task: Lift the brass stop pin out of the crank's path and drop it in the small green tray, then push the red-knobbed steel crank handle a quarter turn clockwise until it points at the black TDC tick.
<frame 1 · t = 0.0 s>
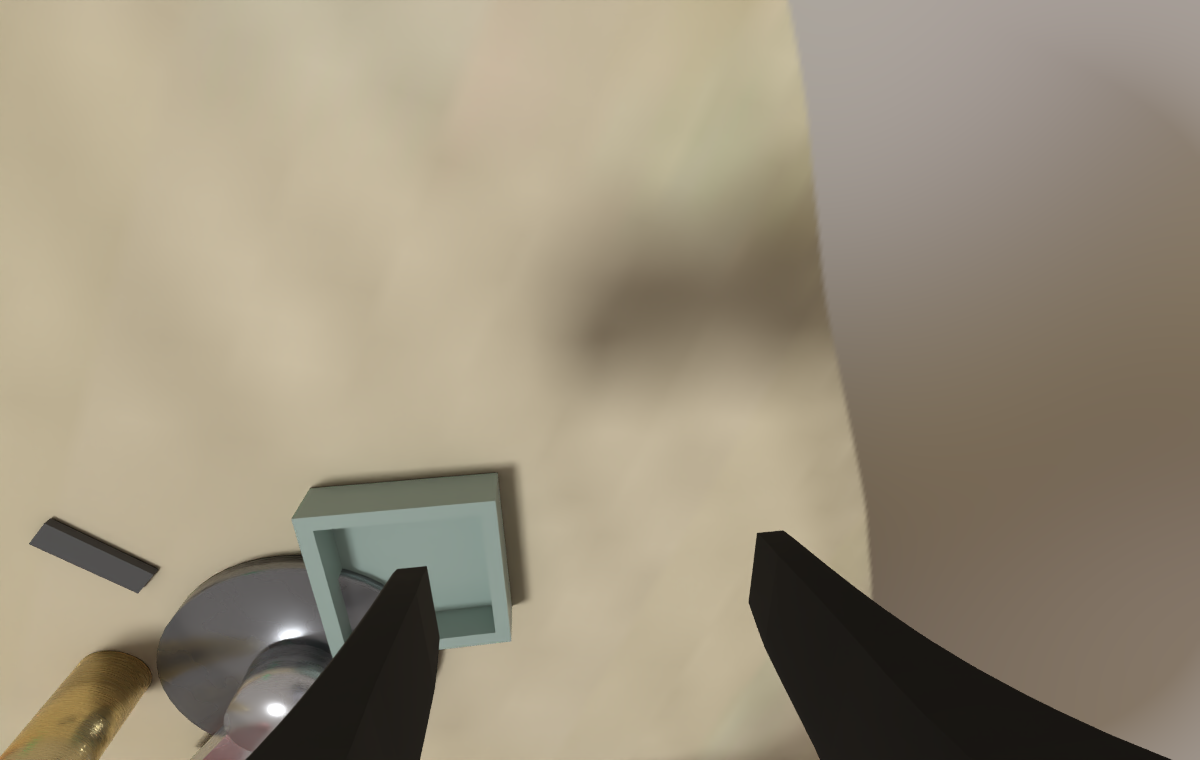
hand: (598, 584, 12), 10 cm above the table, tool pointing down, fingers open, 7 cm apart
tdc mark: (98, 554, 22), on the table
tray: (418, 552, 23), on the table
dark gray disc: (309, 652, 25), on the table
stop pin: (115, 674, 24), on the table
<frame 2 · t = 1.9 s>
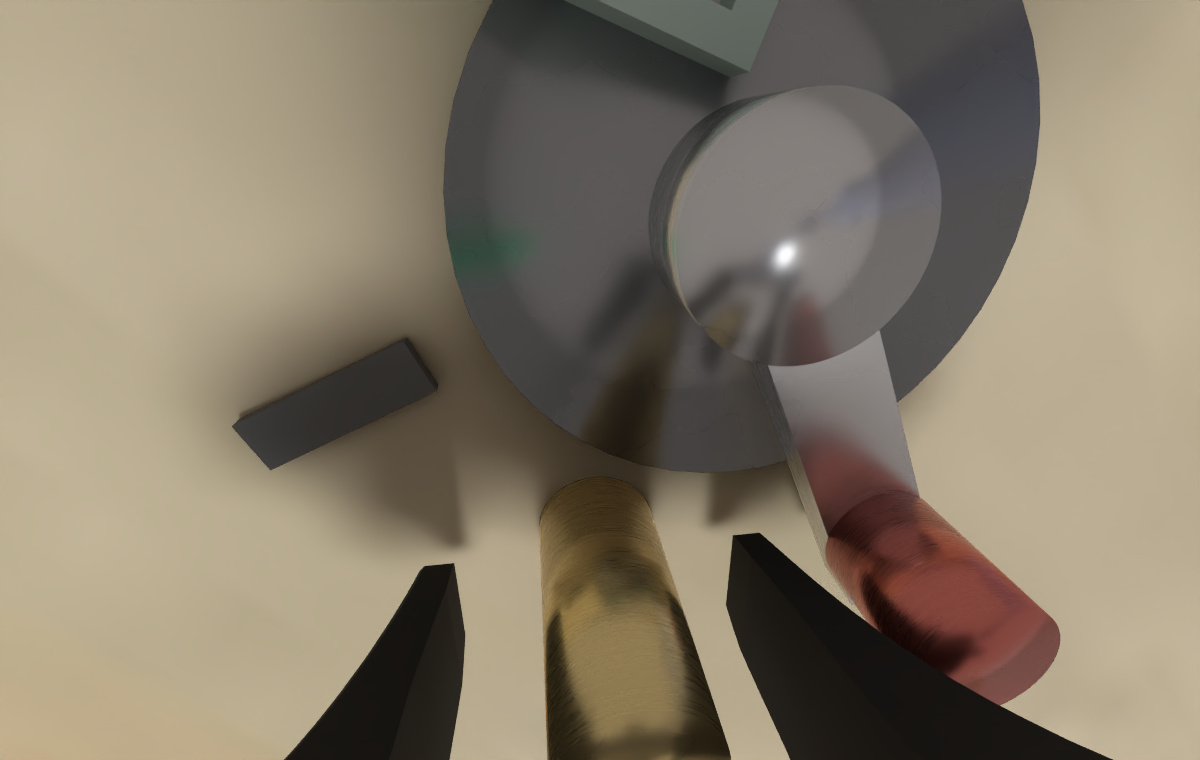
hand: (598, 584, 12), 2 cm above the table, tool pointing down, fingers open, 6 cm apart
crank: (864, 418, 9), point 3 cm above the table, hinge at 0.0°, touching gripper
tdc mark: (339, 402, 12), on the table
dark gray disc: (733, 211, 11), on the table
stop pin: (595, 524, 14), on the table
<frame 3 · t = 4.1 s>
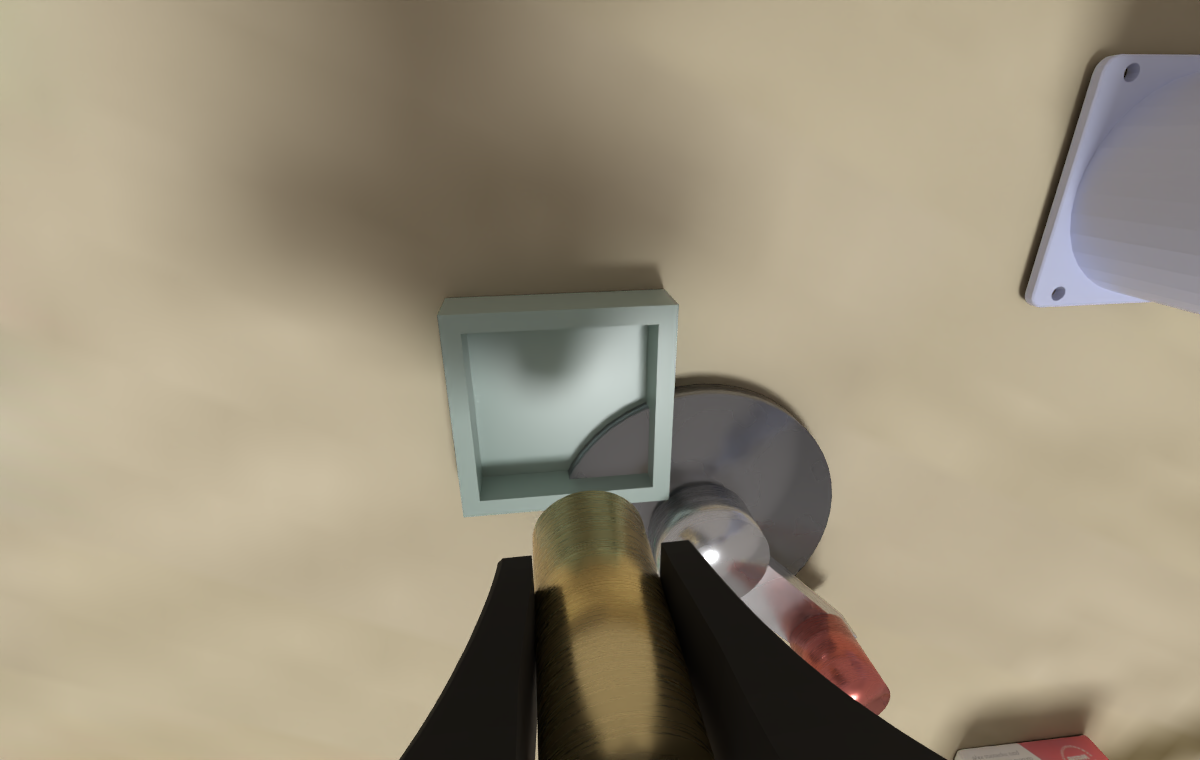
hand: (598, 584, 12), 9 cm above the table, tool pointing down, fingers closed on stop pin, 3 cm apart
crank: (771, 610, 21), point 3 cm above the table, hinge at 0.1°
tray: (561, 392, 20), on the table
dark gray disc: (689, 507, 23), on the table
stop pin: (588, 536, 14), point 7 cm above the table, touching gripper
when the fingers open (3 cm above the table, at t = 5.5 s): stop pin stays where it is, resting on tray.
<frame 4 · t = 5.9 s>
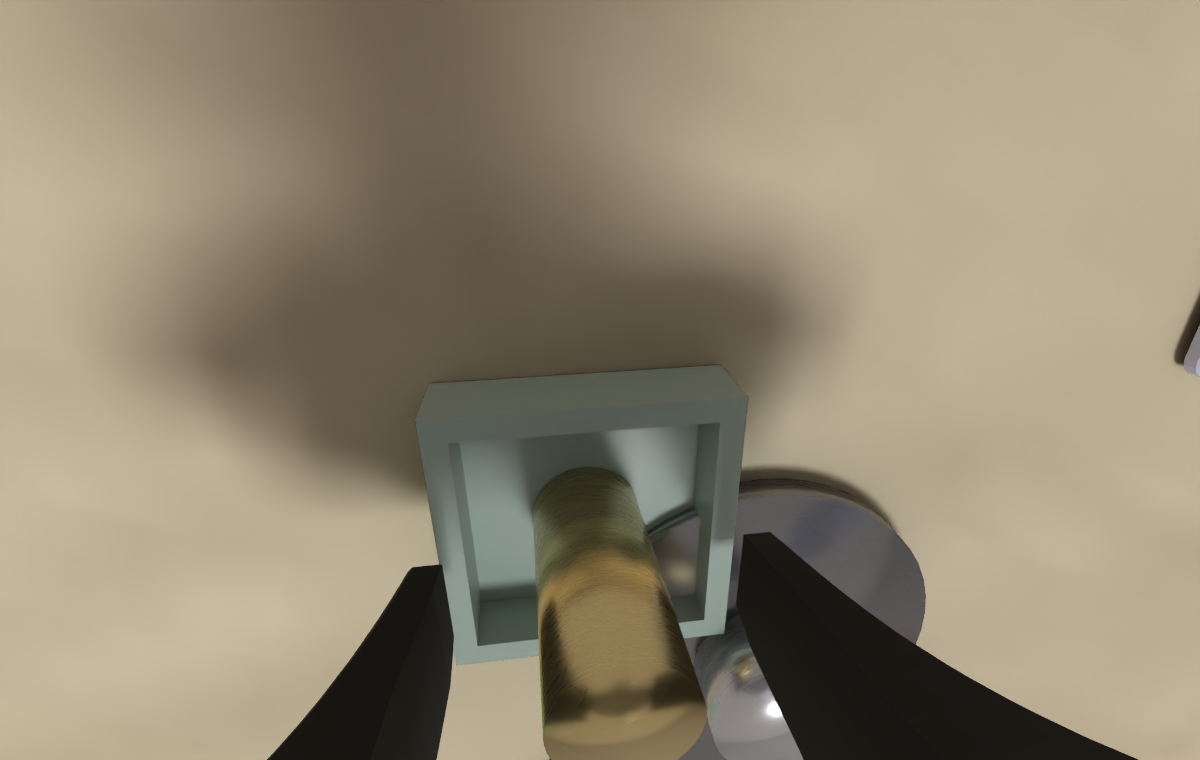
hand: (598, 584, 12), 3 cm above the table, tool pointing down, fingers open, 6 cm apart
tray: (583, 495, 15), on the table
dark gray disc: (742, 623, 18), on the table
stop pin: (585, 511, 15), resting on tray
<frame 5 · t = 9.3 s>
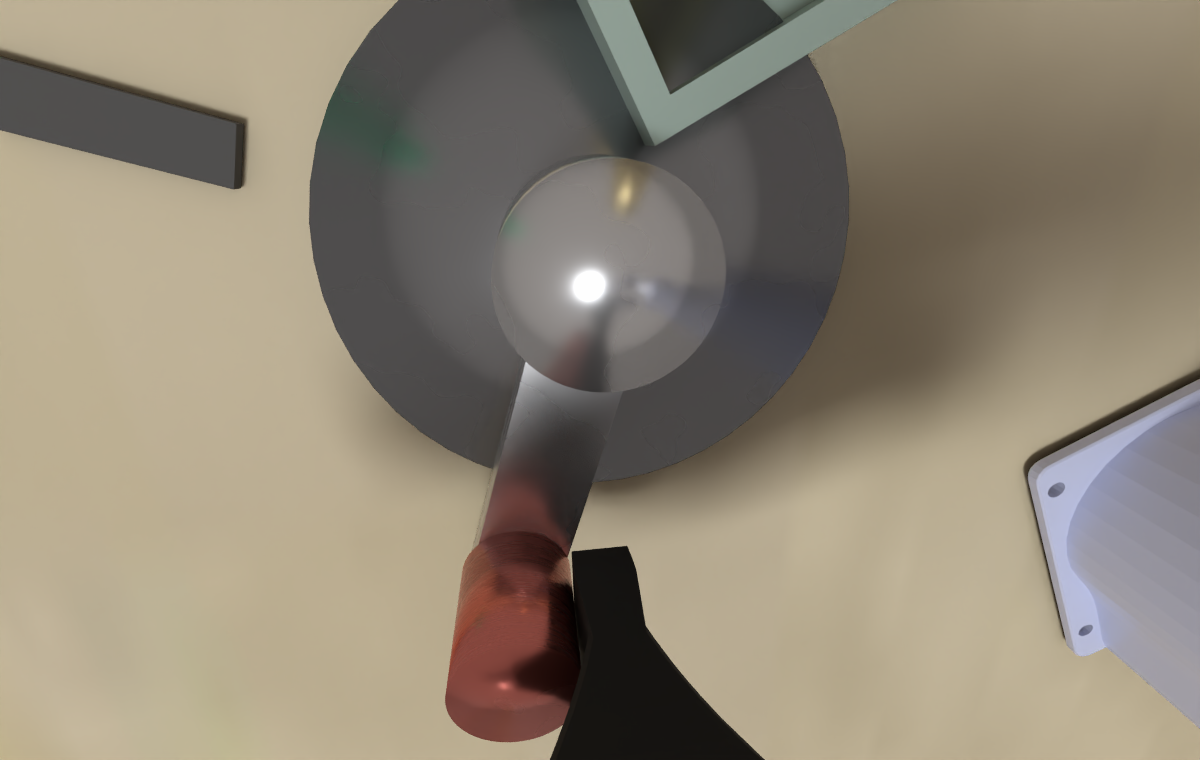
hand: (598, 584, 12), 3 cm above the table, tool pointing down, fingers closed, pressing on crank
crank: (562, 452, 10), point 3 cm above the table, hinge at -0.5°, touching gripper
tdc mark: (124, 125, 10), on the table
dark gray disc: (589, 249, 12), on the table
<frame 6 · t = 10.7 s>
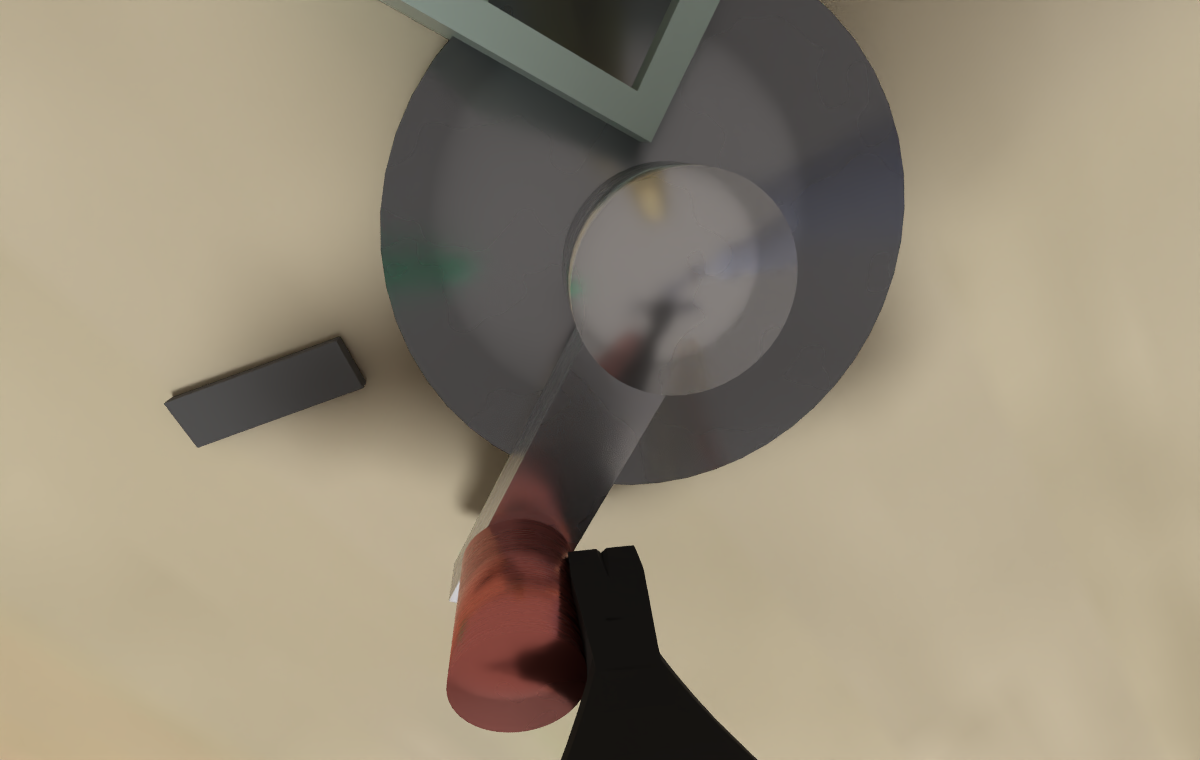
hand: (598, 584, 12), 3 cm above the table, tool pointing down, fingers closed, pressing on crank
crank: (601, 446, 10), point 3 cm above the table, hinge at -45.8°, touching gripper
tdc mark: (270, 390, 13), on the table
dark gray disc: (645, 253, 13), on the table
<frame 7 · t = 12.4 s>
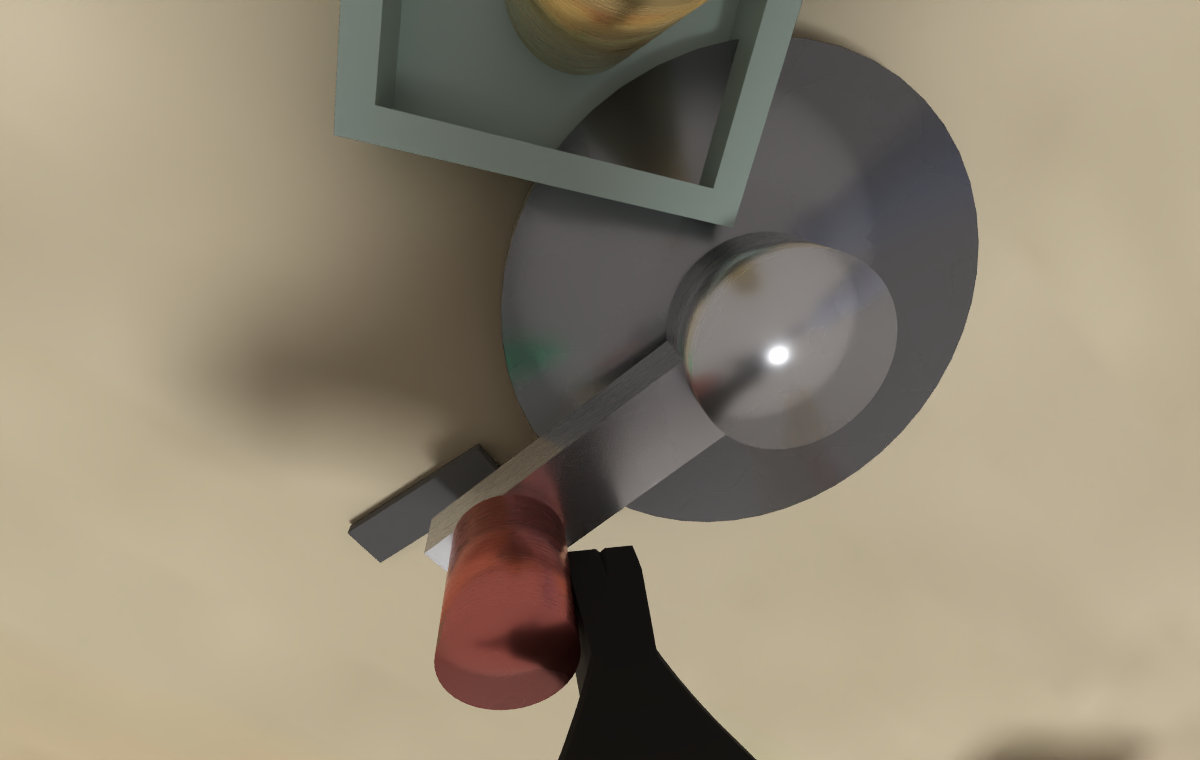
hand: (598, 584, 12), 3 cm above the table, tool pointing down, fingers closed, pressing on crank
crank: (659, 460, 11), point 3 cm above the table, hinge at -84.9°, touching gripper
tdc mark: (429, 501, 14), on the table
dark gray disc: (733, 308, 13), on the table
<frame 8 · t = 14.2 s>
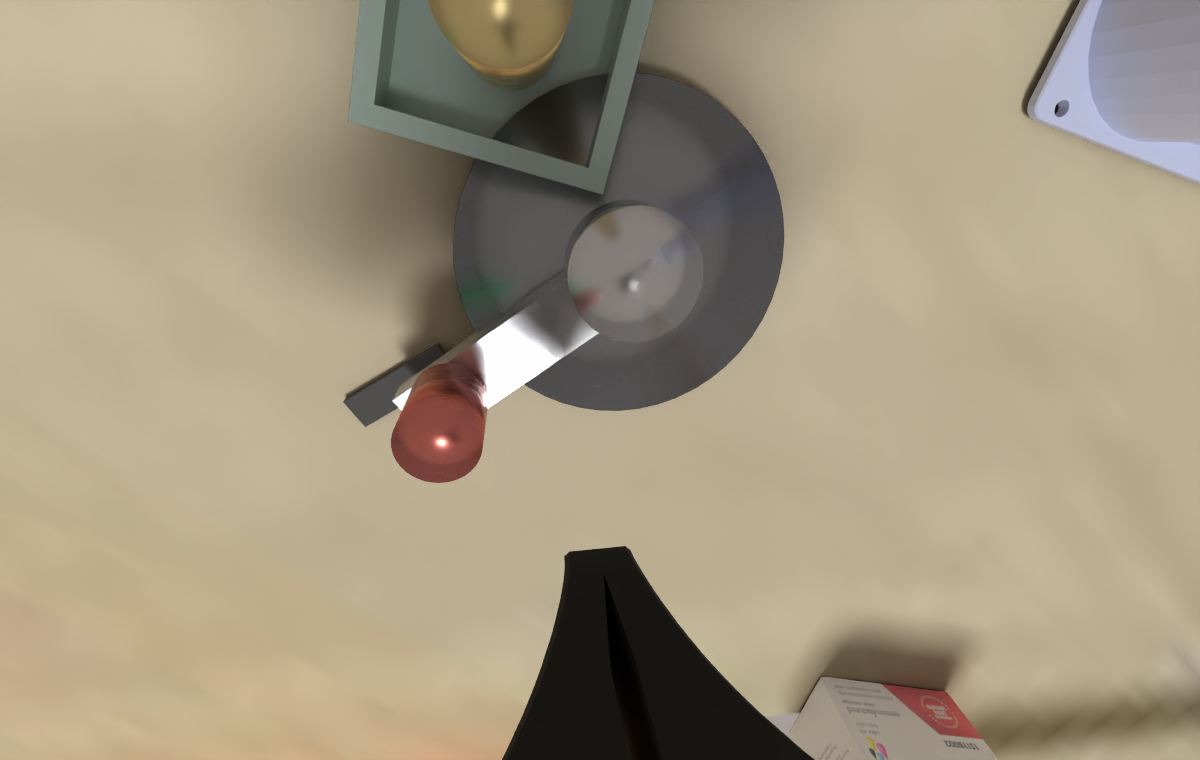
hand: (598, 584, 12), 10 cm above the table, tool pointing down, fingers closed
crank: (546, 341, 17), point 3 cm above the table, hinge at -85.7°
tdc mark: (402, 384, 20), on the table
tray: (510, 29, 16), on the table
dark gray disc: (619, 255, 19), on the table
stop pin: (508, 35, 16), resting on tray
ink cartridge box: (864, 706, 32), on the table
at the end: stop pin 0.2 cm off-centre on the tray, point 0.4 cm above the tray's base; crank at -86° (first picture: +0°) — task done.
